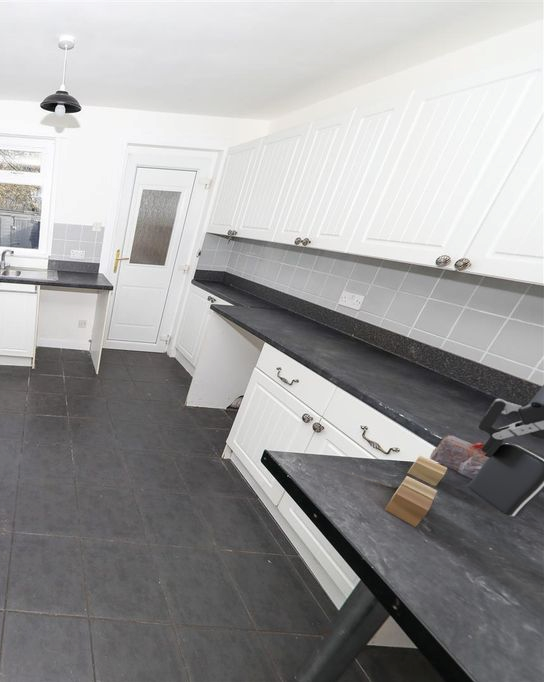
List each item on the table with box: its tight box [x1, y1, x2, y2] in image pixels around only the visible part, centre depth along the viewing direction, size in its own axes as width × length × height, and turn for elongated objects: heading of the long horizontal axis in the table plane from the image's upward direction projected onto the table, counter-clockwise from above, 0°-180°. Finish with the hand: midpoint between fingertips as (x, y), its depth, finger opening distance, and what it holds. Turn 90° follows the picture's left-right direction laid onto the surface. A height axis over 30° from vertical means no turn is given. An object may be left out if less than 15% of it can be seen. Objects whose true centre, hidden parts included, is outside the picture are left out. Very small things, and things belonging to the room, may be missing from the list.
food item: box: [429, 434, 489, 480], centre depth 87 cm, size 14×8×10 cm, turn 31°
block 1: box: [407, 455, 448, 487], centre depth 85 cm, size 5×5×5 cm
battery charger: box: [466, 443, 544, 517], centre depth 58 cm, size 7×4×11 cm, turn 173°
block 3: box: [384, 484, 434, 528], centre depth 73 cm, size 5×5×5 cm
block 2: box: [390, 475, 438, 502], centre depth 77 cm, size 5×5×5 cm
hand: (522, 468), depth 57 cm, fingers closed on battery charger, 7 cm apart
